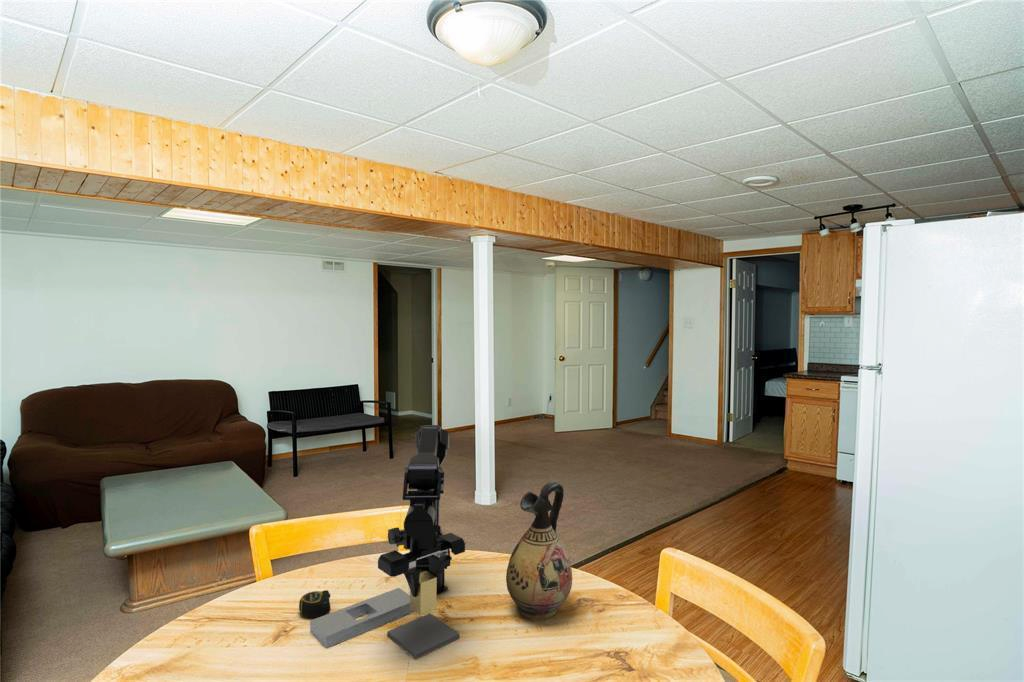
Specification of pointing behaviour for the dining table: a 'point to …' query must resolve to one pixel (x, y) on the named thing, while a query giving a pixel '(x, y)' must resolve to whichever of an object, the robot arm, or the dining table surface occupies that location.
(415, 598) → the brass block
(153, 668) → the dining table surface
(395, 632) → the rubber mat
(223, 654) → the dining table surface
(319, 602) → the tape measure
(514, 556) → the ceramic jug
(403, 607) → the metal plate
